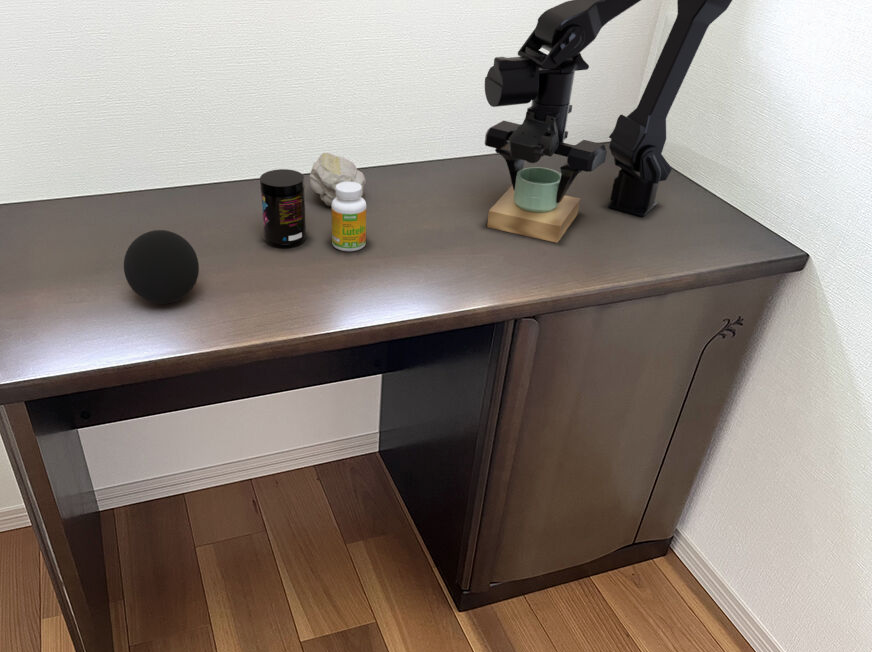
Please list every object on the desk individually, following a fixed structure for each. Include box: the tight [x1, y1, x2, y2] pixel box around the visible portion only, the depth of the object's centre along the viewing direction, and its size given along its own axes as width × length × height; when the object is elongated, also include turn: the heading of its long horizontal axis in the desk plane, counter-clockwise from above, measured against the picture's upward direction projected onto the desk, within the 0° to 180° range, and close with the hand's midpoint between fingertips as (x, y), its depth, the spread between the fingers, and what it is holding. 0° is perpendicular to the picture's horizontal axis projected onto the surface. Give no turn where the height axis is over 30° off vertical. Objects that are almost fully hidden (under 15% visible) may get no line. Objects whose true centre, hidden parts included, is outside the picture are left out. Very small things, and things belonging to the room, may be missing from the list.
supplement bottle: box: [330, 182, 367, 252], centre depth 124 cm, size 5×5×10 cm
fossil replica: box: [309, 152, 367, 207], centre depth 137 cm, size 12×8×10 cm
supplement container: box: [259, 168, 307, 249], centre depth 124 cm, size 7×7×10 cm
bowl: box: [513, 166, 561, 213], centre depth 131 cm, size 7×7×5 cm
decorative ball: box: [123, 229, 200, 305], centre depth 110 cm, size 10×10×10 cm
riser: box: [486, 184, 581, 244], centre depth 133 cm, size 12×12×3 cm
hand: (537, 196), depth 131 cm, fingers closed on bowl, 7 cm apart
